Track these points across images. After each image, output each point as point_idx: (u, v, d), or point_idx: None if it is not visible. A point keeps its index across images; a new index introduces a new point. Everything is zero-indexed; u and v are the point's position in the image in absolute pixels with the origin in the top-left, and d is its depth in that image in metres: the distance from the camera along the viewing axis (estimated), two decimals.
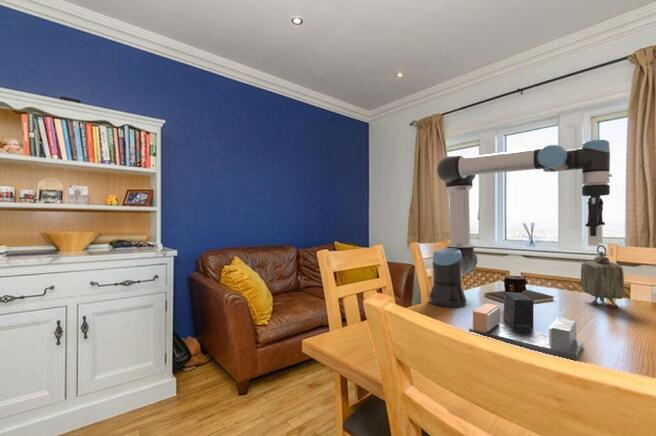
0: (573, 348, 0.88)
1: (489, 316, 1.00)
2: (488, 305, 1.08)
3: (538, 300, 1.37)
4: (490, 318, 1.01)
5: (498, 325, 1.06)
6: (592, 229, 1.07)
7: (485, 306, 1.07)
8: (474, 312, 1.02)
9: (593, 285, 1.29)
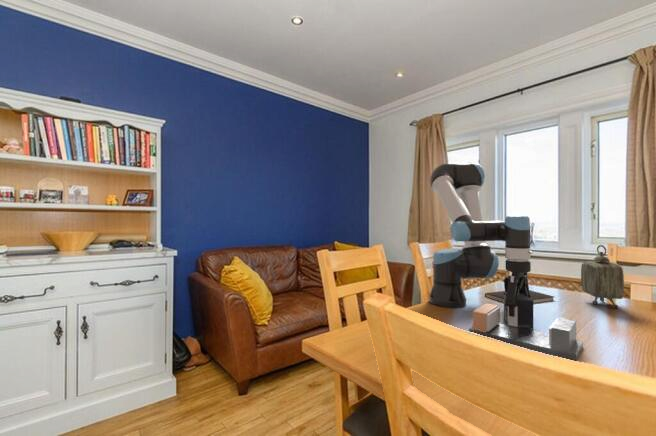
0: (573, 348, 0.88)
1: (489, 316, 1.00)
2: (488, 305, 1.08)
3: (538, 300, 1.37)
4: (490, 318, 1.01)
5: (498, 325, 1.06)
6: (510, 309, 1.04)
7: (485, 306, 1.07)
8: (474, 312, 1.02)
9: (593, 285, 1.29)
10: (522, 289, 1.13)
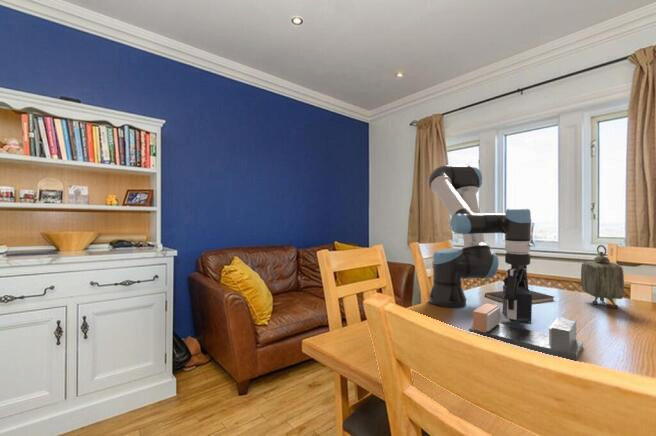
0: (573, 348, 0.88)
1: (489, 316, 1.00)
2: (488, 305, 1.08)
3: (538, 300, 1.37)
4: (490, 318, 1.01)
5: (498, 325, 1.06)
6: (510, 303, 1.05)
7: (485, 306, 1.07)
8: (474, 312, 1.02)
9: (593, 285, 1.29)
10: (521, 282, 1.13)
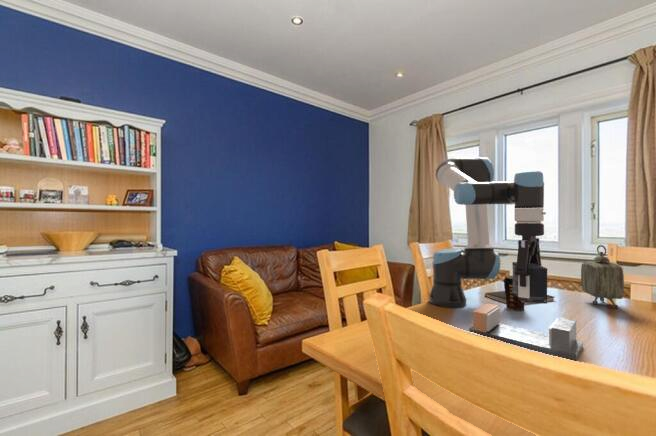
0: (573, 348, 0.88)
1: (489, 316, 1.00)
2: (488, 305, 1.08)
3: None
4: (490, 318, 1.01)
5: (498, 325, 1.06)
6: (521, 278, 0.91)
7: (485, 306, 1.07)
8: (474, 312, 1.02)
9: (593, 285, 1.29)
10: (533, 258, 0.99)
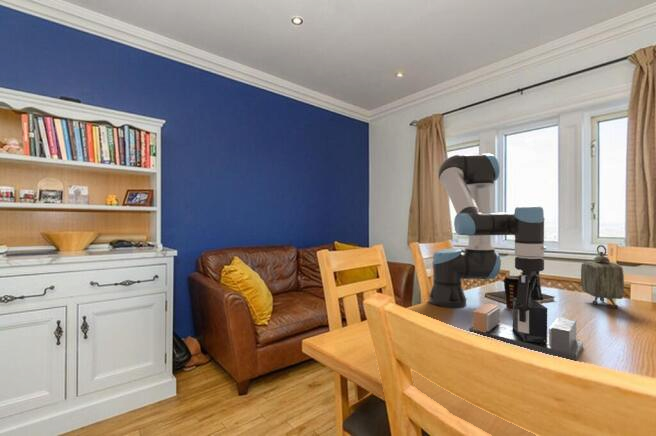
0: (573, 348, 0.88)
1: (489, 316, 1.00)
2: (488, 305, 1.08)
3: None
4: (490, 318, 1.01)
5: (498, 325, 1.06)
6: (521, 313, 0.91)
7: (485, 306, 1.07)
8: (474, 312, 1.02)
9: (593, 285, 1.29)
10: (533, 290, 0.99)
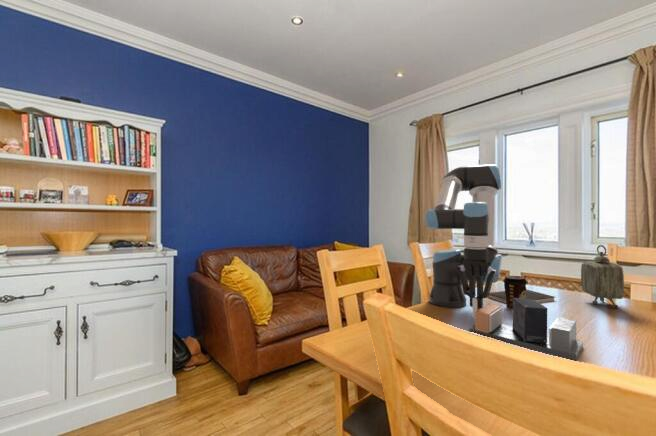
0: (573, 348, 0.88)
1: (492, 317, 1.00)
2: (490, 306, 1.08)
3: (539, 300, 1.37)
4: (493, 318, 1.01)
5: None
6: None
7: (487, 306, 1.07)
8: (476, 313, 1.02)
9: (593, 285, 1.29)
10: None
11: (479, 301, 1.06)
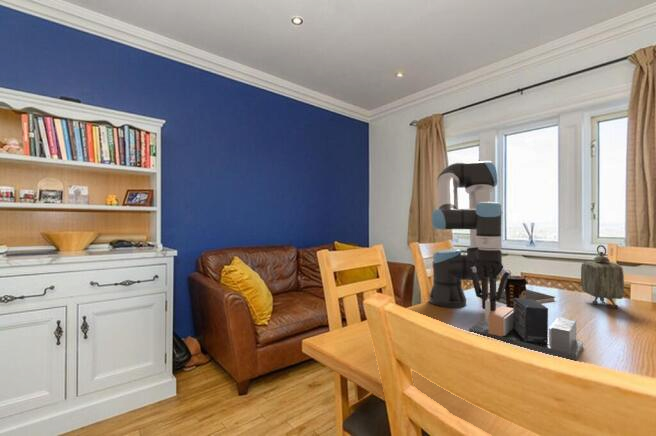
0: (573, 348, 0.88)
1: (506, 319, 0.97)
2: (503, 308, 1.05)
3: (539, 300, 1.37)
4: (507, 321, 0.98)
5: None
6: None
7: (500, 309, 1.04)
8: (490, 315, 0.99)
9: (593, 285, 1.29)
10: None
11: (492, 303, 1.03)
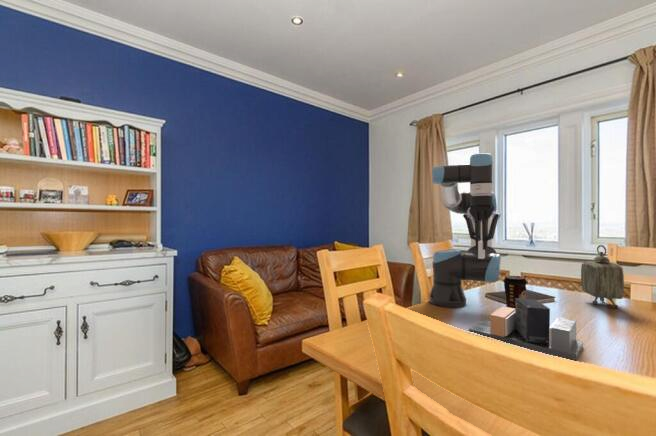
0: (573, 348, 0.88)
1: (507, 320, 0.97)
2: (505, 309, 1.04)
3: (539, 300, 1.37)
4: (508, 322, 0.97)
5: None
6: None
7: (502, 309, 1.04)
8: (492, 316, 0.99)
9: (593, 285, 1.29)
10: None
11: (484, 243, 1.17)
